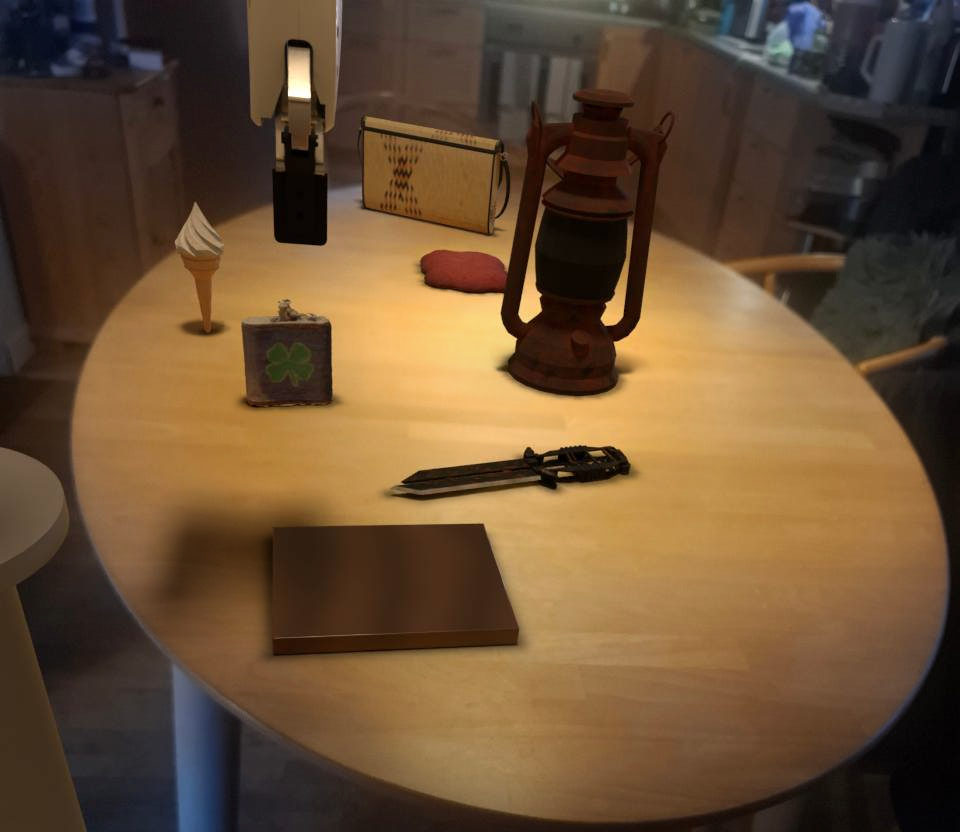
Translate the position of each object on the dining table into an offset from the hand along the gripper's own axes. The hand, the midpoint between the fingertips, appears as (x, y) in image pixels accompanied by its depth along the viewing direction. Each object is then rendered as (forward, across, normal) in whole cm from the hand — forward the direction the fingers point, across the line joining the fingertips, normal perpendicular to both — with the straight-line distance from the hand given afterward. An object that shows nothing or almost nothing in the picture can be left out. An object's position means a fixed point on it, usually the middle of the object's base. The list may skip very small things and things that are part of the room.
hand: (300, 221), depth 59 cm
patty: (+26, -77, +25) cm, 85 cm away
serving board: (+26, +6, +7) cm, 27 cm away
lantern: (+25, -39, +32) cm, 57 cm away
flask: (+26, -30, -1) cm, 40 cm away
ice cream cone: (+26, -50, -11) cm, 57 cm away
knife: (+26, -12, +20) cm, 35 cm away
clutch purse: (+26, -110, +24) cm, 116 cm away
